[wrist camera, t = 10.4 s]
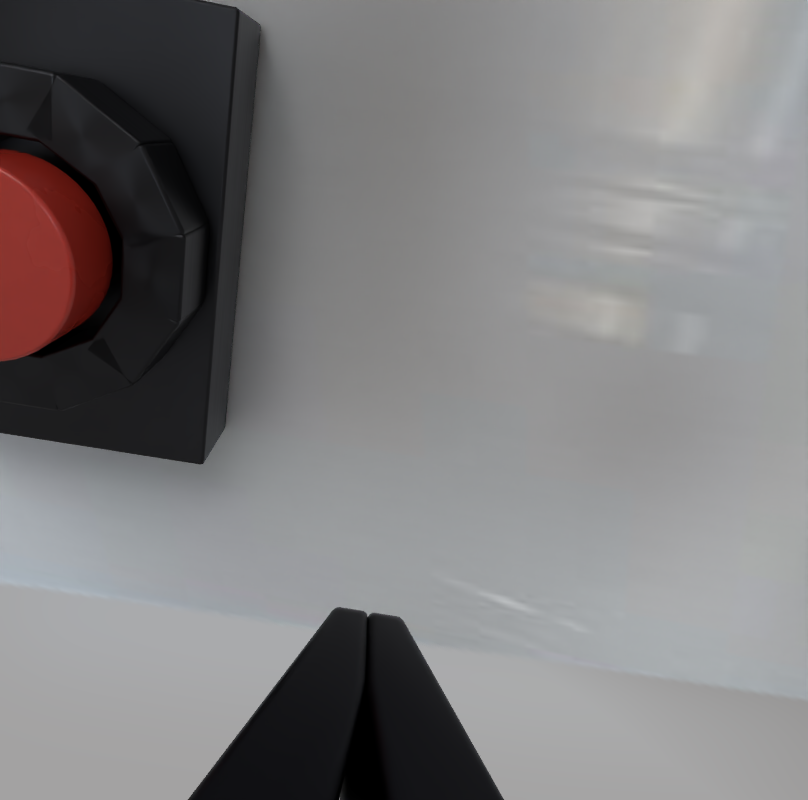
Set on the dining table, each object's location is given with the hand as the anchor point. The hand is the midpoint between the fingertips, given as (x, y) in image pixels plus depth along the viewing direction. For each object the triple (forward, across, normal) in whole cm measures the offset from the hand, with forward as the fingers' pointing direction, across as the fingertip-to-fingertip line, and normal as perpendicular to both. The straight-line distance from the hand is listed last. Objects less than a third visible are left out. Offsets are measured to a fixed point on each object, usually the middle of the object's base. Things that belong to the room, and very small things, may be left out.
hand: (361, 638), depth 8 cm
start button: (+7, +8, -2) cm, 10 cm away
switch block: (+10, +8, -2) cm, 13 cm away
